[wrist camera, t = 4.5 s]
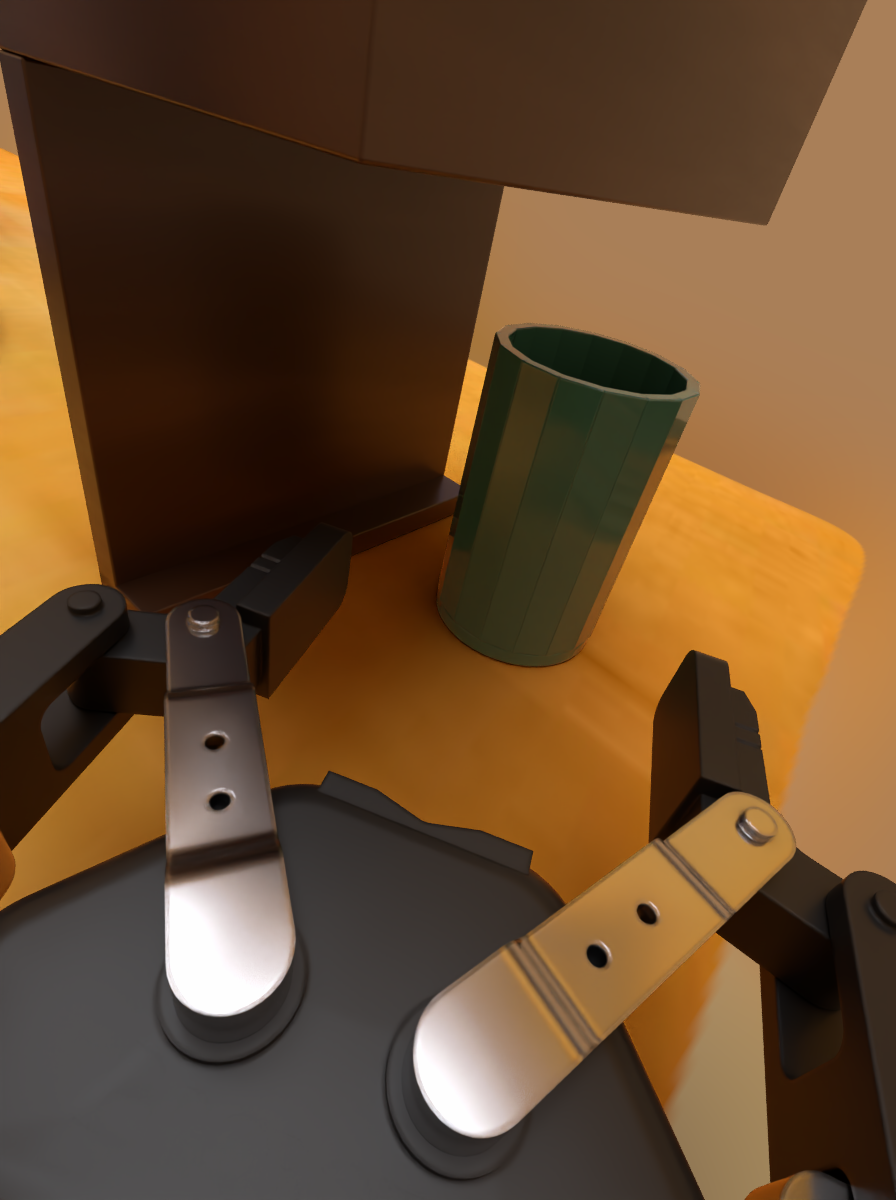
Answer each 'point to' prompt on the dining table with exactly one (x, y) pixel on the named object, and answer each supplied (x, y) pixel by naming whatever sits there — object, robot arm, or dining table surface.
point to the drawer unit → (343, 228)
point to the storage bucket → (556, 487)
